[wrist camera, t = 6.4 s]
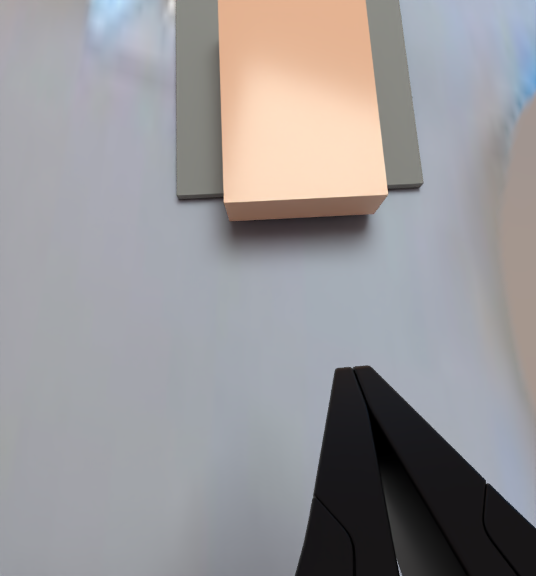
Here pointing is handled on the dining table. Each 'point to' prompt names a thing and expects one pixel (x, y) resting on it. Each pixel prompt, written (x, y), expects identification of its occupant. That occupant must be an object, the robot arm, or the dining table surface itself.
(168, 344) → the dining table surface
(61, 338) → the dining table surface
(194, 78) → the mat
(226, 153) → the tile
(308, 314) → the dining table surface
